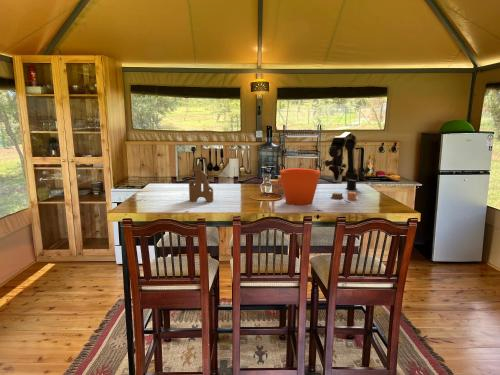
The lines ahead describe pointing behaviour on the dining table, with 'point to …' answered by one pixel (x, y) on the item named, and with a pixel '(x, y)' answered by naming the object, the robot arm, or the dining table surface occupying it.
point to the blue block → (338, 178)
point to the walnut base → (337, 195)
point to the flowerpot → (299, 185)
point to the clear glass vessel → (277, 185)
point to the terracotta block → (352, 195)
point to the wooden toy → (196, 189)
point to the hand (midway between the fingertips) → (337, 179)
